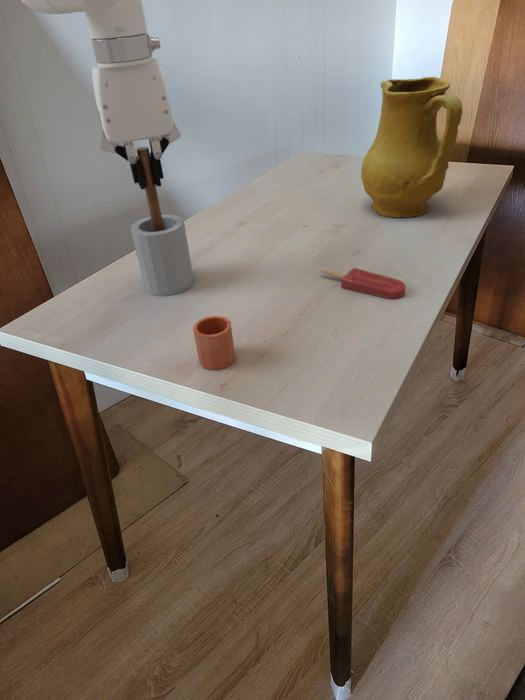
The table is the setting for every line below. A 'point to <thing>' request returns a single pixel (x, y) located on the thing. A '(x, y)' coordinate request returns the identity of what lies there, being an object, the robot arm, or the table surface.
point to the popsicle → (370, 283)
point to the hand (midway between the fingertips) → (149, 184)
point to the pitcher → (410, 146)
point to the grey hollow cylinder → (163, 256)
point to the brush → (150, 189)
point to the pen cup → (214, 342)
